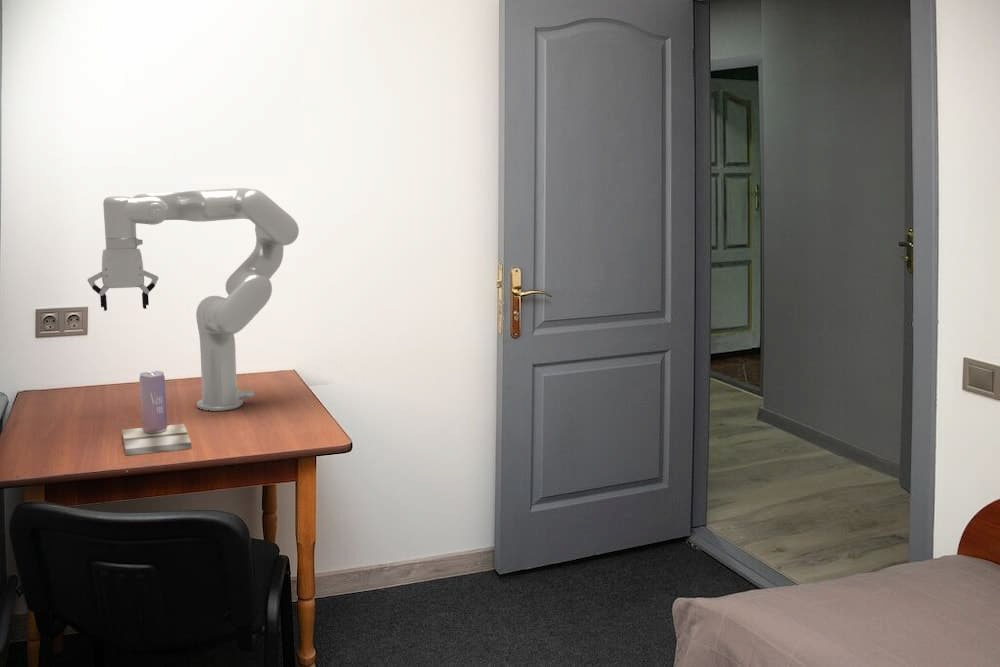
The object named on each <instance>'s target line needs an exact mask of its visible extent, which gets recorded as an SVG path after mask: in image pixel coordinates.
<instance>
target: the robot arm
mask: <svg viewBox="0 0 1000 667" xmlns="http://www.w3.org/2000/svg"><path fill="white" fill-rule="evenodd" d="M102 203H103V204H102V205H103V219H104V223H103V224H104V235H105V249H103V250H102V254H101V271H99V272H98V273H96V274H94V275H92V276H90V277H88V278H87V282H88V284H89V285H90V287H91V288H92V290H93V291H94V292H96V293H97V294H98V296H99V300H100V308H103V311H104V312H106V311H108V303H107V302H108V301H107V294H106V292H108V290H109V289H124V288H125V289H127V288H129V289H130V288H140V289H141V291H142V293H141V296H142V300H141V301H142V302H141V303H142V308H143V309H144V310H147V306H149V302H150V301H149V293H151V291H153V289H154V288H155V287H156V285H157V282H158V281H159V276H158V275H157V274H153V273H150V272H149V271H147V270H144V262H143V257H142V256H143V255H142V253H141V252H142V251H141V249H140V248H138V246H141V245H143V243H144V242H143V239H139V238H138V237H137V228H136V227H137V226H136V225H137V224H141V225H142V224H143V225H151V226H152V225H153V226H154V225H160V224H161V223H163V222H164V221H188V222H194V223H195V222H213V221H225V220H226V221H228V220H229V221H230V220H240V219H243V220H244V219H246V220H249V221H251V222H252V223H253V224H254V226H255V227H254V231H255V232H254V233H255V238H256V241H255V247H254V249H253V251H252V252H251V253H250V255H248V257H247V258H246V259H245V260H244V261H243V262H242V263H241V264H240V265H239V266H238V267H237V269H235V271H233V273H232V274H230V276H229V277H228V278H227V280H226V282H225V292H226V294H227V297H223V296H221V295H210V296H207V297H205V298H203V299H202V300H201V301H200V302H199V304H198V306H197V308H196V312H195V317H196V318H195V319H196V324H197V328H198V334H199V335H198V337H199V349H200V370H201V392H202V395H201V396H202V399H199V400H198V401H197V402H196V407H197V408H198V409H199V408H200V409H199V410H202V409H203V411H208V410H209V412H210V411H211V412H219V411H220V412H221V411H230V410H234V409H237V408H240V407H241V405H242V406H243V404H244V403H243V402H244V401H243V399H244V398H247V399H249V398H254V397H255V392H254V390H248V389H246V390H245V389H244V390H240V389H239V388H238V385H237V364H236V362H237V360H236V340H235V335H236V334H238V333H239V332H241V331H242V330H243V329H245V327H246V326H247V325H248V324H249V323H250V322H251V321H252V320H253V319H254V318H255V316H257V315H258V313H259V312H260V311H261V310H262V309H264V307H265V306H266V305H267V303H268V302H269V300H270V299H271V296H272V292H273V286H272V281H271V280H270V279H271V278H272V277H273V276H274V274H275V273H276V272H277V271H278V270H279V268H280V266H281V265H282V262H283V258H284V248H285V247H284V246H290V245H291V244H293V243H294V242H296V240H297V239H298V237H299V231H300V230H299V229H300V228H299V225H298V223H297V221H296V219H294V217H292V215H290V214H289V213H287V211H286V210H284V209H283V208H282V207H281V206H279V204H277V203H276V202H275V201H273V200H272V198H270V197H269V196H267V195H266V194H265V193H264V192H262V191H261V190H259V189H254V188H247V187H246V188H245V187H241V188H240V187H239V188H235V187H233V188H221V189H220V188H219V189H199V190H190V191H189V190H187V191H178V192H176V191H175V192H159V193H158V192H156V193H155V192H154V193H142V194H141V193H140V194H136V195H134V196H133V197H130V196H121V195H120V196H119V195H117V196H108V197H105V198H104V200H103V202H102ZM145 277H146V278H149V279H151V281H150V283H149V284H148V285H147V286H146V285H145ZM100 279H101V280H102V285H103V286H102V287H101V288H100V287H99V286H98V285H97V284H96V283H95V282H96V281H97V280H100Z"/></svg>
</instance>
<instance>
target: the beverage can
mask: <svg viewBox="0 0 1000 667" xmlns="http://www.w3.org/2000/svg"><path fill="white" fill-rule="evenodd" d="M138 380H139V395H140V396H139V397H140V412H141V413H140V415H141V428H142V430H143V431H144V432H145V433H149V434H154V433H161V432H164V431H165V430H166V429H167V425H168V418H167V417H168V416H167V400H166V398H167V397H166V380H165V374H164V372H163V371H162V370H161V371H160V370H150V371H149V370H147V371H144V372H141V373H140V374H139V379H138Z"/></svg>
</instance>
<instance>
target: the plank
mask: <svg viewBox="0 0 1000 667" xmlns="http://www.w3.org/2000/svg"><path fill="white" fill-rule="evenodd" d="M121 432H122V434H121V435H122V442H123V443H124V441H127V440H137V439H147V438H157V437H167V436H177V435H186V434H188V430H187V428H186V426H185V423H180V424H179V423H177V424H169V425H168V424H167V429H166V430H165V431H164V432H161V433H154V434H149V433H145V432H144V431H143V430H142V427H139V428H138V427H137V428H128V429H127V428H125V429H121Z"/></svg>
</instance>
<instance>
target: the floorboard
mask: <svg viewBox="0 0 1000 667" xmlns="http://www.w3.org/2000/svg"><path fill="white" fill-rule="evenodd" d="M190 438H191V437H190V436H189V433H187V434H186V435H177V436H167V437H157V438H147V439H137V440H127V441H124V442H123V447H124V453H125V456H134V455H144V454H145V455H146V454H154V453H162V452H171V451H182V450H190V449H192V441H191V439H190Z"/></svg>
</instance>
